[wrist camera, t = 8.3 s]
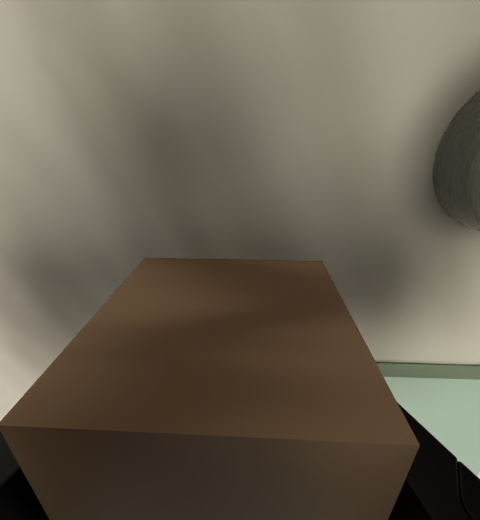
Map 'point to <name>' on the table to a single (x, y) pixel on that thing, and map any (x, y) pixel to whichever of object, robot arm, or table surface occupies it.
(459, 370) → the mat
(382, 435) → the walnut block
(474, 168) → the metal cylinder
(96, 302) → the table surface
